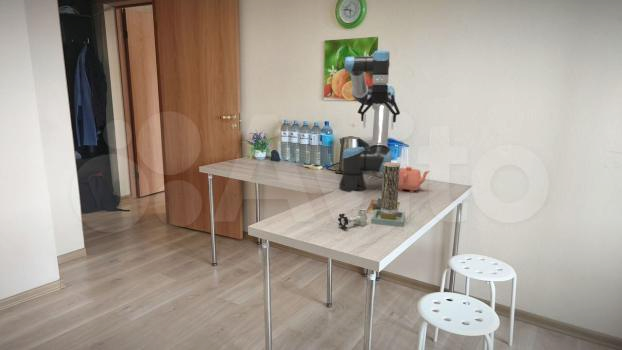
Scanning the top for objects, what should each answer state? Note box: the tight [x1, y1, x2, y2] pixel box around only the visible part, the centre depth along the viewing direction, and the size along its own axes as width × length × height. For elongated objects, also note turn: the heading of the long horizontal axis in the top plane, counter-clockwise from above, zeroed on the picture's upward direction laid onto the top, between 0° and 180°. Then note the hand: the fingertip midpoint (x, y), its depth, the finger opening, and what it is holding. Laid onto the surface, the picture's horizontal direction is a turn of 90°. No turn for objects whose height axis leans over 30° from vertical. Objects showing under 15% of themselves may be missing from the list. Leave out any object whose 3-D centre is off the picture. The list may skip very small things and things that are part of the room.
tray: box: [370, 209, 406, 228], centre depth 173 cm, size 13×13×3 cm
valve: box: [337, 208, 368, 230], centre depth 166 cm, size 7×7×12 cm
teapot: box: [398, 166, 431, 193], centre depth 224 cm, size 17×16×13 cm
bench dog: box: [376, 198, 381, 210], centre depth 183 cm, size 4×3×6 cm
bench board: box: [366, 199, 401, 215], centre depth 191 cm, size 14×22×1 cm, turn 164°
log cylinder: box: [380, 161, 401, 220], centre depth 170 cm, size 7×7×25 cm
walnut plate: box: [372, 199, 378, 210], centre depth 189 cm, size 9×7×3 cm
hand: (377, 128), depth 197 cm, fingers open, 13 cm apart
